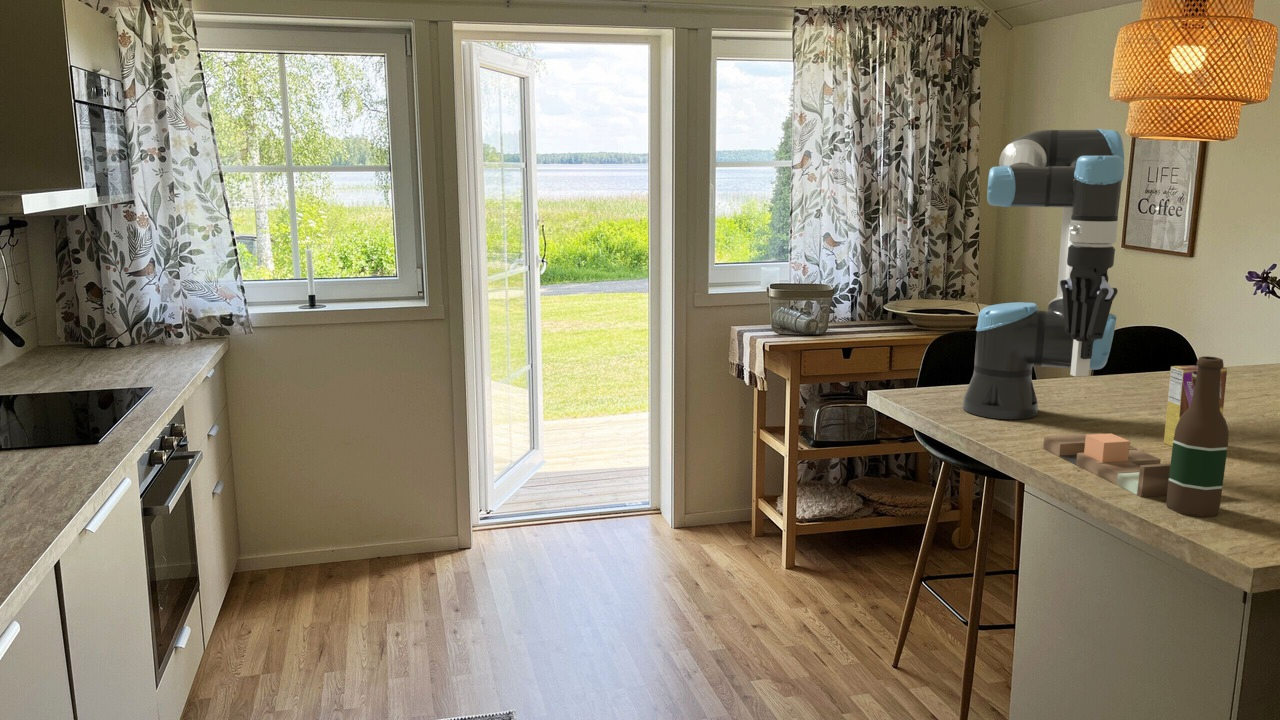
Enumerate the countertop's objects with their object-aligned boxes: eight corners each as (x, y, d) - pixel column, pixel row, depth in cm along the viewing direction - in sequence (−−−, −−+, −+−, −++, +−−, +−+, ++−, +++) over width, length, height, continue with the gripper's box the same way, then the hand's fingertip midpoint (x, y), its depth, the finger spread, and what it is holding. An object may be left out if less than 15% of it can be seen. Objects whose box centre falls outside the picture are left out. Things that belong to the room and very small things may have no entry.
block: (1084, 453, 172) (1085, 434, 171) (1109, 452, 173) (1111, 433, 172) (1102, 462, 167) (1104, 442, 167) (1128, 460, 168) (1130, 441, 168)
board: (1043, 448, 183) (1045, 423, 182) (1100, 445, 185) (1103, 419, 184) (1141, 496, 157) (1144, 467, 156) (1206, 492, 159) (1210, 462, 158)
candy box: (1205, 441, 188) (1214, 363, 185) (1220, 447, 184) (1230, 368, 180) (1161, 442, 187) (1170, 364, 184) (1175, 449, 183) (1185, 369, 180)
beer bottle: (1174, 516, 148) (1192, 362, 143) (1156, 499, 156) (1173, 352, 151) (1229, 519, 147) (1250, 364, 142) (1209, 502, 154) (1228, 353, 150)
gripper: (1050, 241, 177) (1039, 368, 182) (1096, 248, 165) (1083, 384, 169) (1087, 241, 178) (1075, 367, 183) (1135, 247, 166) (1121, 382, 171)
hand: (1079, 375), depth 176 cm, fingers closed
